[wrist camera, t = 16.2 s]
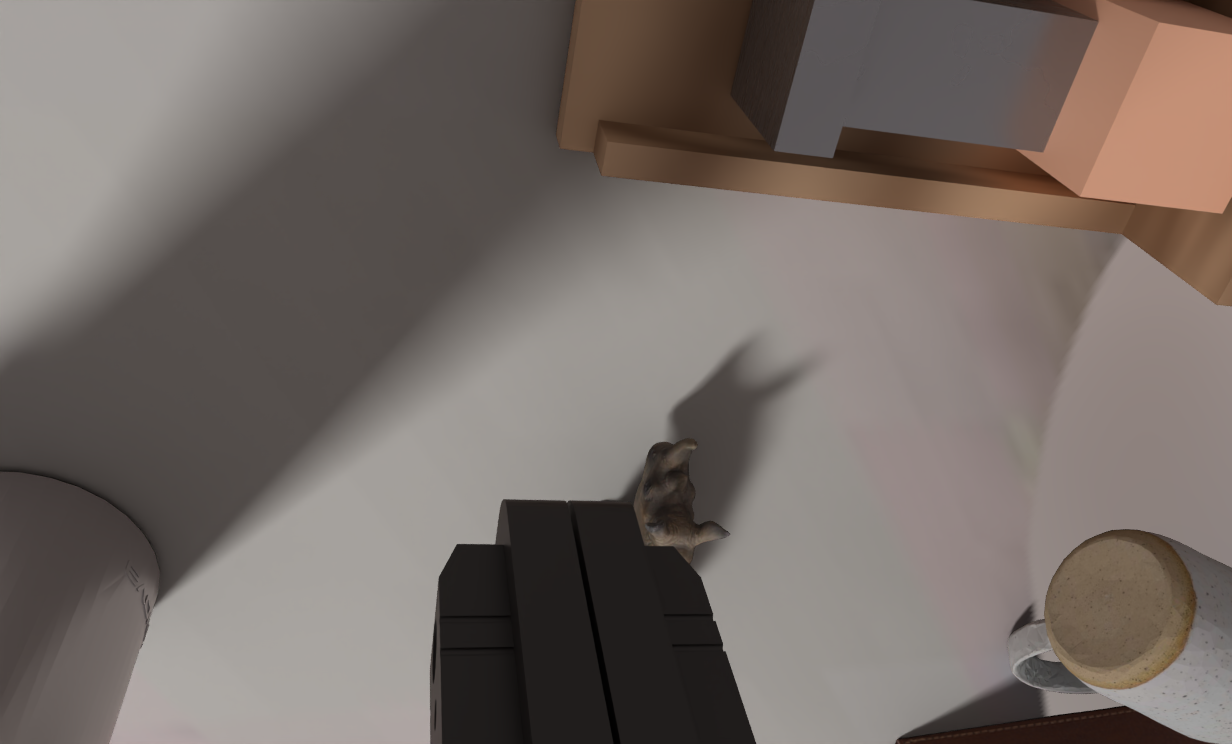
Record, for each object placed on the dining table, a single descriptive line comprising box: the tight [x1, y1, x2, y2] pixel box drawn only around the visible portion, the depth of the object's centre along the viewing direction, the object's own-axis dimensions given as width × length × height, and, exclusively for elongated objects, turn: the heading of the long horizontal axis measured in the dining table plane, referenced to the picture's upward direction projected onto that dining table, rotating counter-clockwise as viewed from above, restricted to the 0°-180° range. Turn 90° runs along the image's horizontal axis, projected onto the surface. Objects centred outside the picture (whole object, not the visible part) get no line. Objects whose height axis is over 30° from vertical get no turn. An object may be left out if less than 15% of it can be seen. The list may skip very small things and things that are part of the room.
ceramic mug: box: [1007, 529, 1232, 744], centre depth 43 cm, size 11×8×8 cm
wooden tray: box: [556, 0, 1232, 306], centre depth 26 cm, size 20×9×8 cm, turn 79°
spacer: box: [1016, 0, 1232, 214], centre depth 27 cm, size 4×4×6 cm
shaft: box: [730, 0, 1099, 158], centre depth 26 cm, size 8×4×4 cm, turn 79°
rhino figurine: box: [634, 438, 730, 565], centre depth 37 cm, size 4×14×6 cm, turn 160°
